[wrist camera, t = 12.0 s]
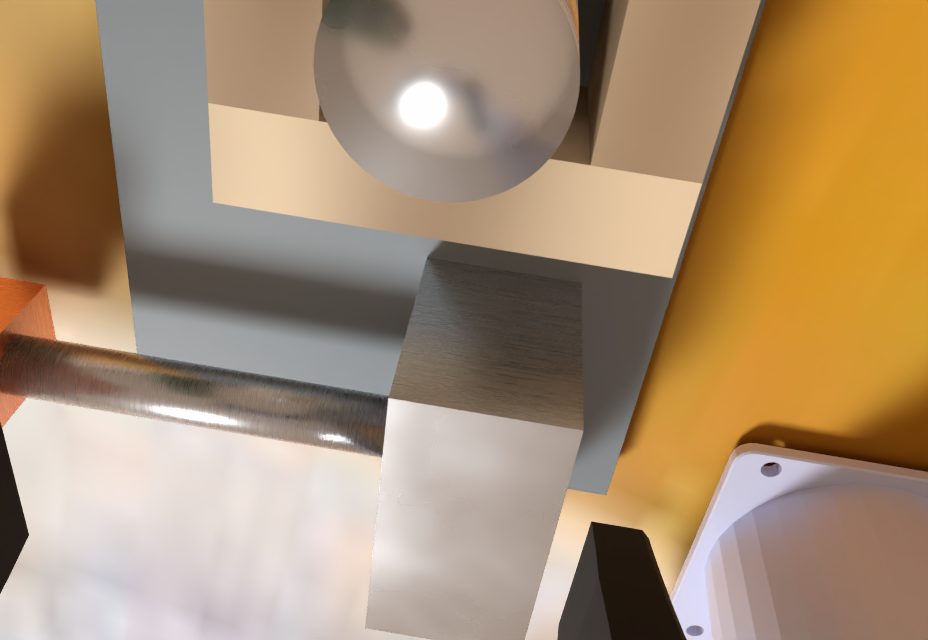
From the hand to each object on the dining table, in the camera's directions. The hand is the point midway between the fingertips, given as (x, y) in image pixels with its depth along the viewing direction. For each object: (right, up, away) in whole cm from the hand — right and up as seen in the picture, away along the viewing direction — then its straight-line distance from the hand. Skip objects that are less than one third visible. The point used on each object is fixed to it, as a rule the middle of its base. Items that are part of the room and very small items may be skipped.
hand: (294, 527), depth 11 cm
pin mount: (+3, +1, +10) cm, 11 cm away
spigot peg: (+3, +9, +5) cm, 11 cm away
